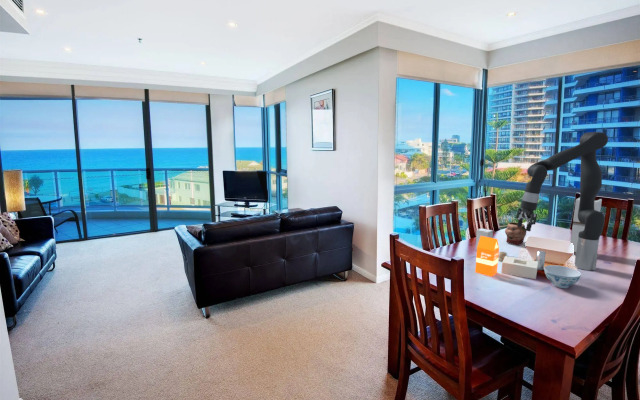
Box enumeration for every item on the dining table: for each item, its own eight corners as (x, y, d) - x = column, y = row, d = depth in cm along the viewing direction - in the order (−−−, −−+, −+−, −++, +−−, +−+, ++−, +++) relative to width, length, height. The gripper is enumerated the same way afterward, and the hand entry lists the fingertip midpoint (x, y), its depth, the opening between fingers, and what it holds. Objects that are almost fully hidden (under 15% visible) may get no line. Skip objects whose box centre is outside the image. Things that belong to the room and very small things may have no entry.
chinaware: (580, 294, 160) (582, 279, 159) (542, 287, 168) (544, 272, 167) (577, 283, 173) (579, 268, 172) (542, 277, 181) (543, 263, 179)
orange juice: (480, 268, 193) (483, 234, 190) (497, 272, 187) (500, 237, 184) (475, 272, 188) (477, 237, 184) (491, 276, 182) (495, 240, 178)
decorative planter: (511, 238, 250) (512, 219, 248) (529, 241, 241) (531, 222, 239) (500, 243, 237) (501, 224, 235) (519, 247, 228) (521, 227, 226)
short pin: (506, 260, 206) (507, 252, 205) (505, 262, 202) (506, 254, 201) (498, 259, 208) (499, 251, 207) (498, 261, 205) (498, 253, 204)
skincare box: (492, 253, 219) (494, 230, 216) (487, 254, 216) (488, 232, 213) (480, 249, 226) (481, 227, 223) (474, 251, 223) (476, 229, 220)
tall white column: (589, 258, 208) (597, 201, 202) (569, 254, 216) (575, 199, 209) (594, 254, 215) (602, 199, 209) (573, 250, 223) (580, 197, 217)
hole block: (536, 271, 188) (538, 261, 187) (535, 279, 178) (537, 268, 177) (504, 266, 197) (504, 256, 196) (501, 272, 187) (502, 262, 186)
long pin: (543, 268, 193) (545, 251, 191) (543, 270, 189) (545, 253, 188) (535, 266, 195) (537, 250, 193) (535, 269, 192) (536, 252, 190)
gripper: (544, 204, 182) (537, 233, 186) (529, 199, 196) (522, 226, 199) (531, 202, 182) (524, 231, 185) (516, 197, 196) (509, 224, 199)
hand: (523, 228), depth 192 cm, fingers open, 8 cm apart
